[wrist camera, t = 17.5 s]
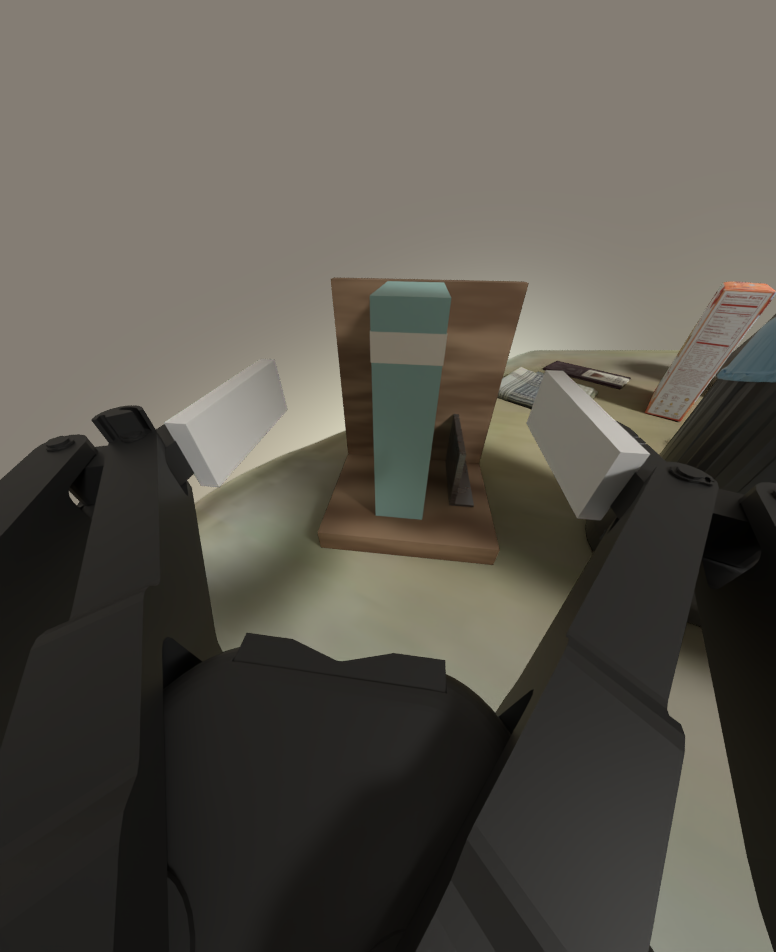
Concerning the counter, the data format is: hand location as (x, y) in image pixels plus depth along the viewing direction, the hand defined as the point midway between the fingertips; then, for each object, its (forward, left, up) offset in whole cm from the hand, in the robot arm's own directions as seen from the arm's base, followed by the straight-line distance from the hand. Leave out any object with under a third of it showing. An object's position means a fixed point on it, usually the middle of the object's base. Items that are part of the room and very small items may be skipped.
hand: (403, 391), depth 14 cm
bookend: (-15, -1, -17) cm, 22 cm away
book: (-10, -6, -17) cm, 20 cm away
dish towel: (-57, 0, -20) cm, 60 cm away
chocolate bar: (-77, +6, -20) cm, 80 cm away
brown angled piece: (-11, -6, -19) cm, 23 cm away
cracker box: (-66, +22, -19) cm, 72 cm away
